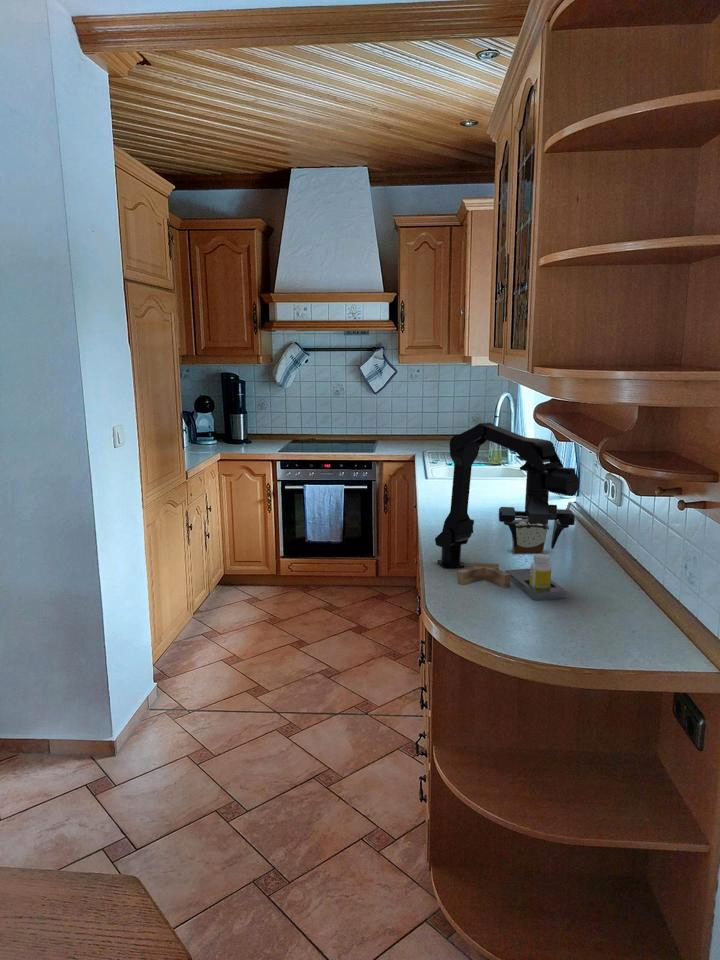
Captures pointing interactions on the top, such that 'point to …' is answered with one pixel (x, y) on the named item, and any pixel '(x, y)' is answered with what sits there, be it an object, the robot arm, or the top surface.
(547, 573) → the supplement bottle
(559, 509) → the robot arm
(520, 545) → the food container
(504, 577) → the walnut V-block
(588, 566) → the top surface
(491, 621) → the top surface
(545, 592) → the gray slab with hole
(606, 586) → the top surface
